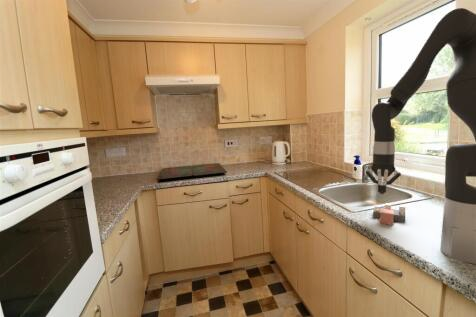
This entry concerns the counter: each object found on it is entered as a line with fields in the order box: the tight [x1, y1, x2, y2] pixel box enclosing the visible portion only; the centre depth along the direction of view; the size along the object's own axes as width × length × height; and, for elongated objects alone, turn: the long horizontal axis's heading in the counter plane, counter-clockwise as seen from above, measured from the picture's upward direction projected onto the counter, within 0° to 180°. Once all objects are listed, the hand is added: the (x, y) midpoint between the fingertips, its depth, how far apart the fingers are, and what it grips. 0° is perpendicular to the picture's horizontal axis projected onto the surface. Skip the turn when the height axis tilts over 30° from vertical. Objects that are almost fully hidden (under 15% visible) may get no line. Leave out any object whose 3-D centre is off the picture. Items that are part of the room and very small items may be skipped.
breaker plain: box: [398, 204, 406, 214], centre depth 95 cm, size 2×2×2 cm
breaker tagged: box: [384, 202, 392, 210], centre depth 98 cm, size 2×2×2 cm
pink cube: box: [379, 209, 395, 226], centre depth 94 cm, size 4×4×4 cm
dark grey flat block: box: [372, 206, 406, 223], centre depth 98 cm, size 6×11×3 cm, turn 55°
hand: (381, 193), depth 98 cm, fingers closed
